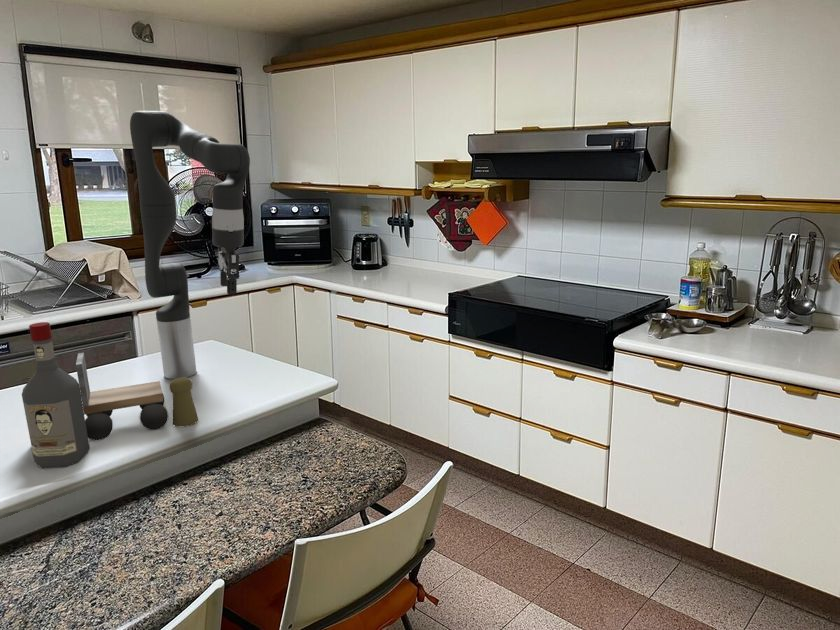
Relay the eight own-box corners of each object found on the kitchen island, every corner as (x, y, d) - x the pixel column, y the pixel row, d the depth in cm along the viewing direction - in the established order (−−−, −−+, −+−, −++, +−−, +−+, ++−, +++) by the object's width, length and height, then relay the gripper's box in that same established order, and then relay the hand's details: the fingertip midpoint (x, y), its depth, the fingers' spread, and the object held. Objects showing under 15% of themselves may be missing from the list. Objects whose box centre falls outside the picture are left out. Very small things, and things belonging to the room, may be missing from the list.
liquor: (52, 450, 143) (28, 320, 135) (94, 448, 143) (72, 318, 136) (30, 470, 134) (3, 331, 127) (75, 467, 134) (51, 329, 127)
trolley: (87, 421, 159) (76, 351, 154) (165, 407, 166) (156, 340, 161) (85, 442, 146) (72, 367, 142) (169, 427, 153) (159, 355, 149)
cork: (202, 416, 159) (197, 374, 156) (192, 426, 153) (186, 383, 151) (179, 416, 160) (173, 374, 157) (167, 426, 154) (161, 383, 151)
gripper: (207, 221, 163) (208, 283, 168) (217, 231, 151) (218, 297, 156) (237, 222, 167) (237, 282, 171) (249, 231, 154) (249, 296, 159)
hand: (228, 289), depth 163 cm, fingers open, 8 cm apart
